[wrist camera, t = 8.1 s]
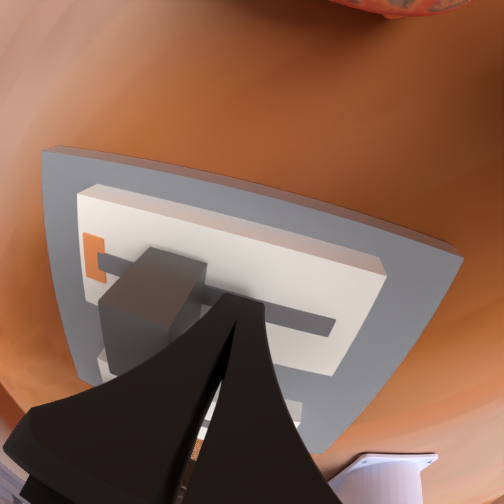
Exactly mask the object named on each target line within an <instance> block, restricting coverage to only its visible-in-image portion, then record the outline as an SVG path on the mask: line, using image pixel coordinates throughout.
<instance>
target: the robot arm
mask: <svg viewBox="0 0 504 504" xmlns="http://www.w3.org/2000/svg"><path fill="white" fill-rule="evenodd" d="M221 380H222V381H221ZM220 383H221V386H220V391H219V396H218V400H217V403H216V405H215V408H214V411H213V414H212V417H211V420H210V423H209V426H208V429H207V432H206V435H205V438H204V441H203V444H202V446H201V449H200V452H199V455H198V458H197V461H196V463H195V466H194V469H193V472H192V475H191V477H190V480H189V483H188V486H187V488H186V491H185V494H184V497H183V499H182V502H181V504H423V499H422V488H421V478H420V471H421V470H423V469H424V468H426V467H427V466H429V465H430V464H431V463H433V462H434V461H436V460H437V459H438V454H420V455H393V454H364V455H362V456H361V457H359V458H358V459H357V460H356V461H355V462H353V463H352V464H351V465H349V466H348V467H347V468H346V469H344V470H343V471H342V472H340V473H339V474H338V475H336V476H335V477H334V478H332V479H331V480H330V481H328V482H327V481H326V480H325V478H324V477H323V475H322V474H321V472H320V470H319V469H318V467H317V465H316V464H315V462H314V461H313V459H312V457H311V455H310V454H309V452H308V450H307V448H306V446H305V444H304V442H303V440H302V438H301V436H300V435H299V433H298V431H297V429H296V427H295V424H294V422H293V420H292V418H291V415H290V413H289V411H288V408H287V406H286V403H285V400H284V398H283V395H282V392H281V389H280V386H279V383H278V380H277V376H276V373H275V370H274V366H273V362H272V358H271V353H270V348H269V344H268V338H267V332H266V323H265V305H264V304H263V302H259V301H255V300H252V299H248V298H244V297H241V296H237V295H234V294H230V293H225V294H223V295H222V296H221V297H220V299H219V300H218V301H217V302H216V303H215V304H214V305H213V307H212V308H211V309H210V310H209V311H208V312H207V313H206V314H205V315H204V316H203V317H202V318H200V319H199V320H198V321H197V322H196V323H195V324H194V325H193V326H192V327H190V328H189V329H188V330H187V331H186V332H185V333H183V334H182V335H181V336H180V337H178V338H177V339H176V340H174V341H173V342H172V343H171V344H169V345H168V346H167V347H165V348H164V349H162V350H161V351H160V352H158V353H157V354H155V355H154V356H152V357H151V358H149V359H148V360H146V361H144V362H143V363H141V364H139V365H138V366H136V367H134V368H132V369H131V370H129V371H127V372H125V373H123V374H121V375H120V376H118V377H116V378H114V379H112V380H110V381H107V382H105V383H103V384H100V385H98V386H96V387H93V388H91V389H88V390H86V391H84V392H81V393H79V394H76V395H73V396H70V397H67V398H64V399H61V400H57V401H54V402H50V403H47V404H43V405H40V406H36V407H32V408H31V409H30V410H29V411H28V412H27V413H26V414H25V415H24V416H23V418H22V419H21V420H20V421H19V423H18V424H17V425H16V427H15V428H14V430H13V431H12V433H11V434H10V436H9V438H8V439H7V441H6V442H5V444H4V445H3V450H4V452H5V453H6V454H7V455H8V456H9V457H10V458H11V459H12V460H13V461H14V462H15V463H17V464H18V465H19V466H20V467H21V468H22V469H24V470H25V471H26V472H28V474H30V475H29V477H28V479H27V481H26V482H25V481H23V480H22V479H21V478H20V477H18V476H17V475H16V474H14V473H13V472H12V471H11V470H9V469H8V468H7V467H6V466H4V465H3V464H2V463H1V462H0V504H23V503H24V504H176V501H177V498H178V495H179V492H180V489H181V486H182V483H183V480H184V476H185V473H186V470H187V467H188V464H189V461H190V458H191V455H192V452H193V449H194V446H195V443H196V440H197V437H198V434H199V431H200V429H201V426H202V423H203V421H204V419H205V417H206V414H207V412H208V410H209V408H210V405H211V403H212V401H213V399H214V396H215V394H216V392H217V389H218V387H219V385H220ZM22 502H23V503H22Z"/></svg>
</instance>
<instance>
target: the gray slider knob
mask: <svg viewBox="0 0 504 504" xmlns="http://www.w3.org/2000/svg"><path fill="white" fill-rule="evenodd" d="M207 265H208V263H205V262H202V261H198V260H195V259H191V258H188V257H184V256H181V255H177V254H174V253H170V252H167V251H163V250H160V249H157V248H153V247H149V248H148V249H147V250H146V251H145V252H144V253H143V254H142V255H141V256H140V257H139V258H138V259H137V260H136V261H135V262H134V263H133V264H132V265H131V266H130V267H129V268H128V269H127V270H126V271H125V272H124V273H123V275H122V276H121V277H120V278H119V279H118V280H117V281H116V282H115V283H114V284H113V285H112V286H111V287H110V288H109V289H108V290H107V291H106V293H105V294H104V295H103V296H102V297H101V298H100V299H99V300H98V308H99V315H100V322H101V329H102V335H103V341H104V346H105V351H106V357H107V362H108V366H109V371H110V373H111V374H113V375H115V376H120V375H121V374H123V373H125V372H127V371H129V370H131V369H132V368H134V367H136V366H138V365H139V364H141V363H143V362H144V361H146V360H148V359H149V358H151V357H152V356H154V355H155V354H157V353H158V352H160V351H161V350H162V349H164V348H165V347H167V346H168V345H169V344H171V343H172V342H173V341H174V340H176V339H177V338H178V337H180V336H181V335H182V334H183V333H185V332H186V331H187V330H188V329H189V328H190V327H192V326H193V325H194V324H195V323H196V322H197V321H198V320H199V319H200V312H201V305H202V298H203V292H204V285H205V278H206V272H207Z"/></svg>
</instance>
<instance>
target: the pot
mask: <svg viewBox="0 0 504 504" xmlns="http://www.w3.org/2000/svg"><path fill="white" fill-rule="evenodd" d="M329 1H333V2H337V3H340V4H342V5H346V6H349V7H352V8H356V9H360V10H364V11H368V12H372V13H377V14H382V15H383V16H384V17H385V18H387V19H399V18H402V17H404V16H431V15H437V14H442V13H446V12H449V11H452V10H455V9H458V8H460V7H462V6H464V5H466V4H468V3H469V2H471V1H472V0H329Z"/></svg>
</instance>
